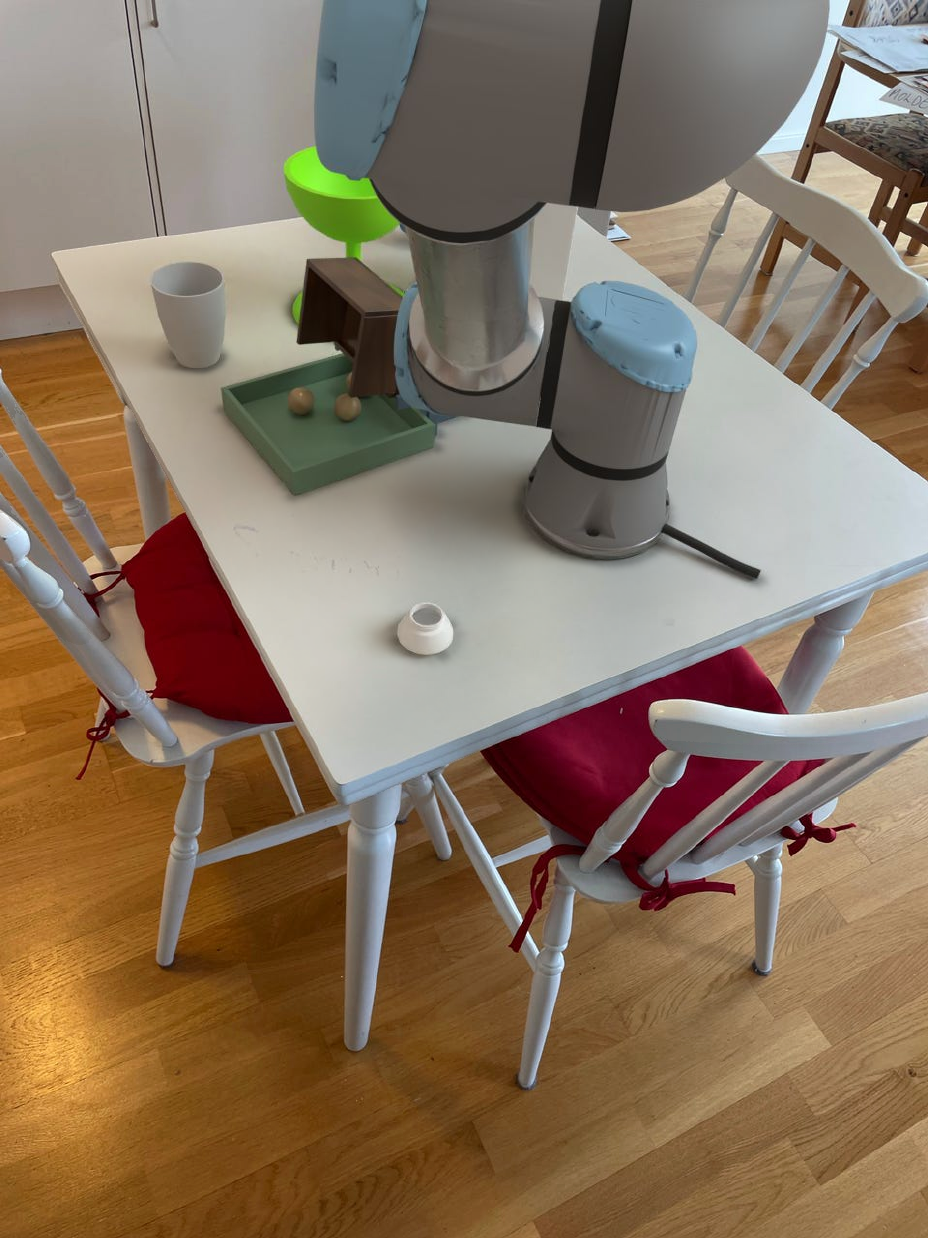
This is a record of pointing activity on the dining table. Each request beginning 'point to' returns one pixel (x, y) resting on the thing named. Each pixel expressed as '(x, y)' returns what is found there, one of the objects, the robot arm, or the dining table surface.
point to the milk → (552, 249)
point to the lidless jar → (425, 629)
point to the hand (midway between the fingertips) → (518, 161)
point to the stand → (433, 417)
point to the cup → (191, 311)
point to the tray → (322, 425)
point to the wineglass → (335, 206)
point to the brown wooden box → (352, 320)
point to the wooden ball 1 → (300, 400)
